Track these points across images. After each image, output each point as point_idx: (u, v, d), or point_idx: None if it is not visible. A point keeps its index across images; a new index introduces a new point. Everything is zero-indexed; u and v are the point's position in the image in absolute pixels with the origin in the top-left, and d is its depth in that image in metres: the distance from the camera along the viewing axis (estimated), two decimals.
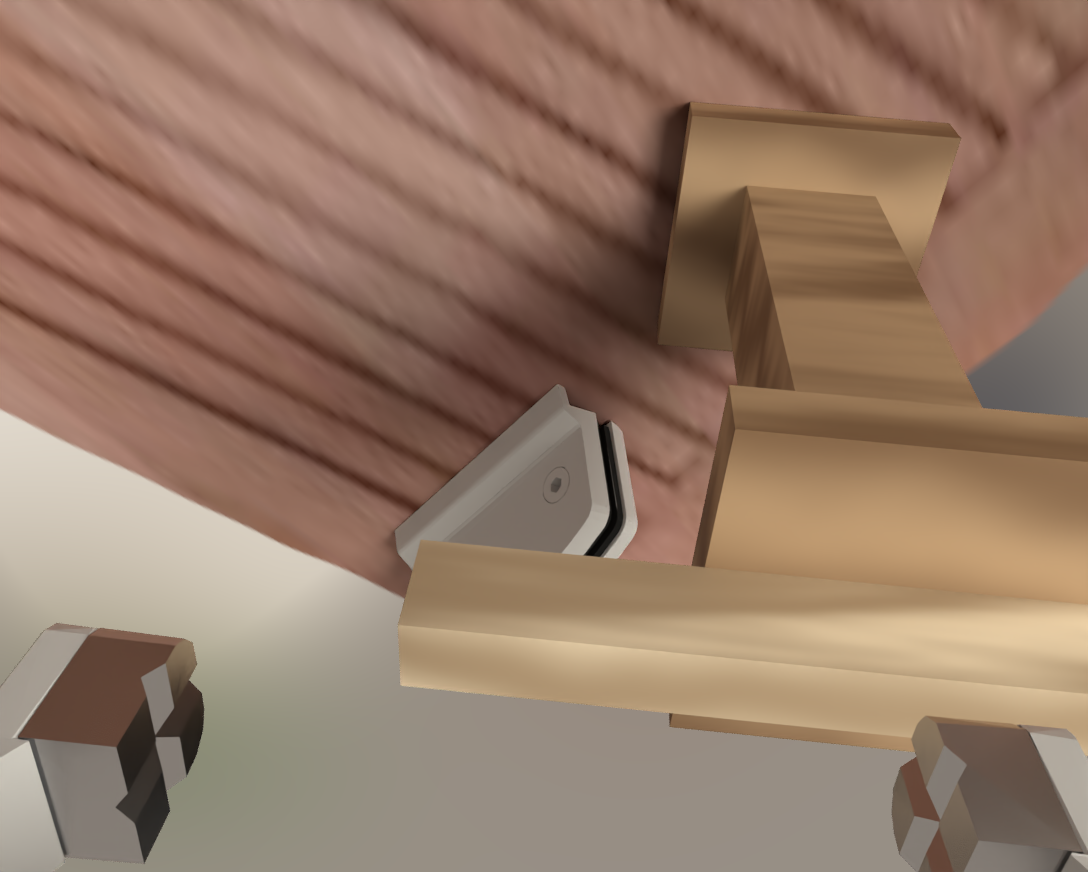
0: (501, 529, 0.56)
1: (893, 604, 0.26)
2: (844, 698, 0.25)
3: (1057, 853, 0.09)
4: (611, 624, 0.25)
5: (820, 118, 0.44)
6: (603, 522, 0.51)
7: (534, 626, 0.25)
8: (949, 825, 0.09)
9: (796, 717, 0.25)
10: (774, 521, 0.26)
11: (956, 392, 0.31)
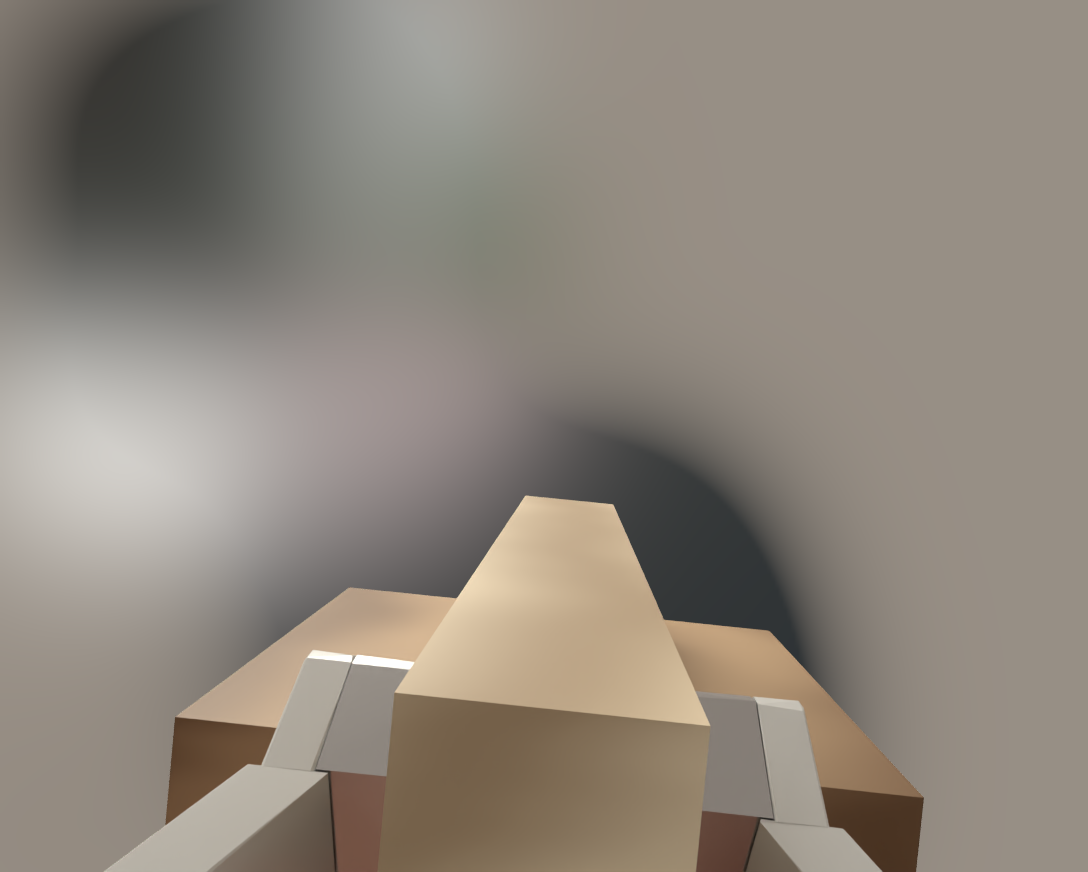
0: None
1: None
2: (561, 531, 0.19)
3: (749, 820, 0.09)
4: None
5: None
6: None
7: None
8: None
9: (610, 542, 0.18)
10: None
11: None
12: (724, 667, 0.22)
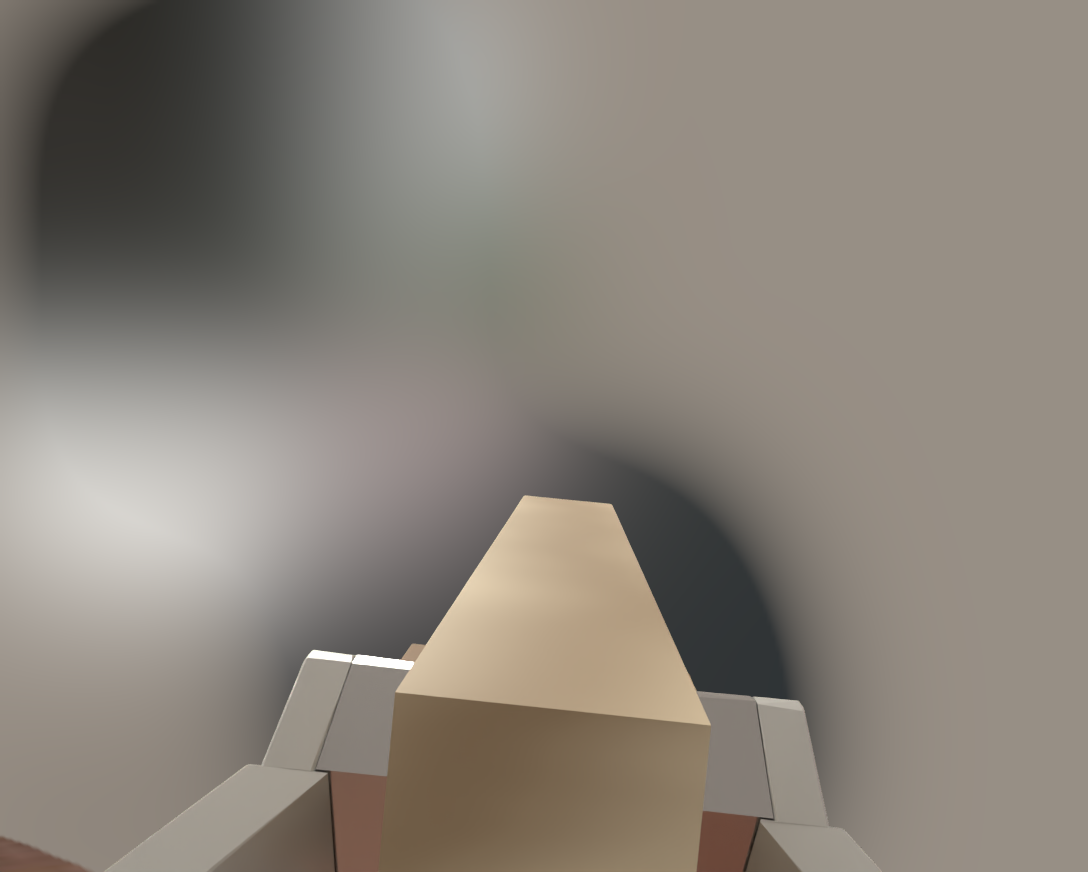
0: None
1: None
2: (560, 530, 0.19)
3: (749, 820, 0.09)
4: None
5: None
6: None
7: None
8: None
9: (610, 542, 0.18)
10: None
11: None
12: None
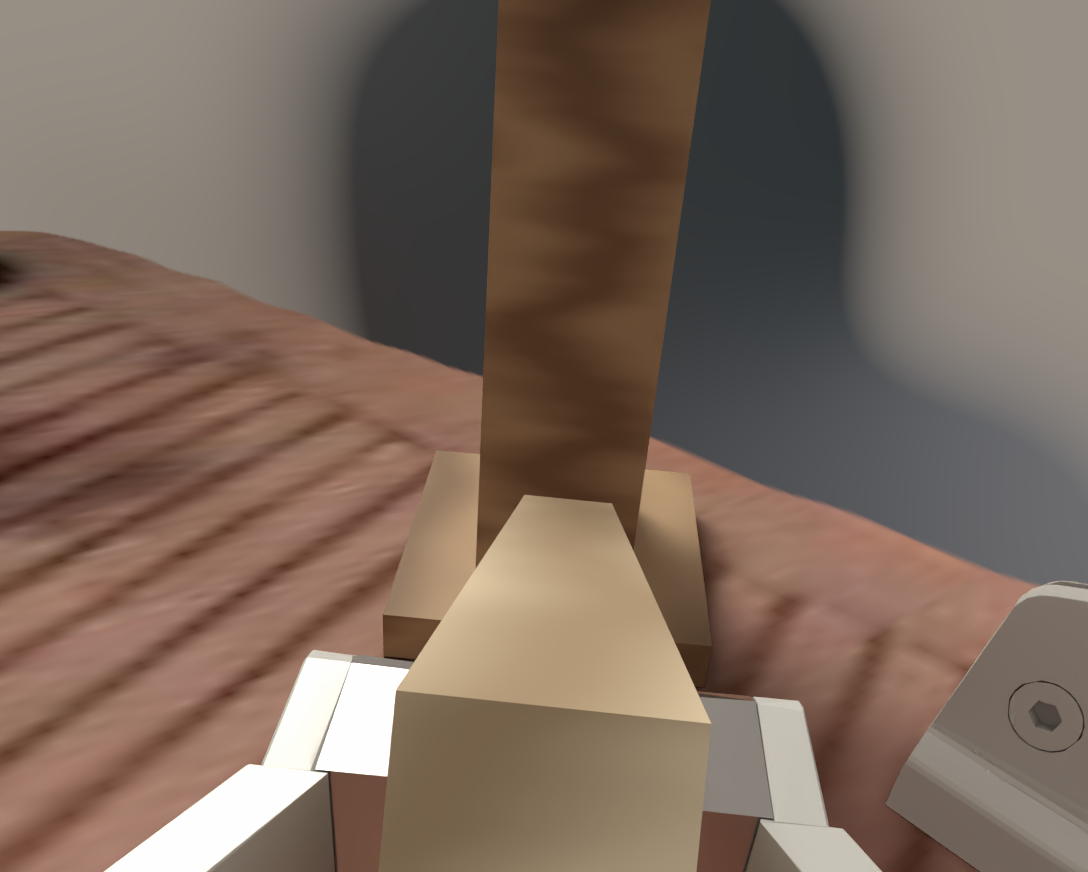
0: None
1: None
2: (560, 529, 0.19)
3: (749, 820, 0.09)
4: None
5: None
6: (1045, 586, 0.30)
7: None
8: None
9: (610, 541, 0.18)
10: None
11: None
12: None
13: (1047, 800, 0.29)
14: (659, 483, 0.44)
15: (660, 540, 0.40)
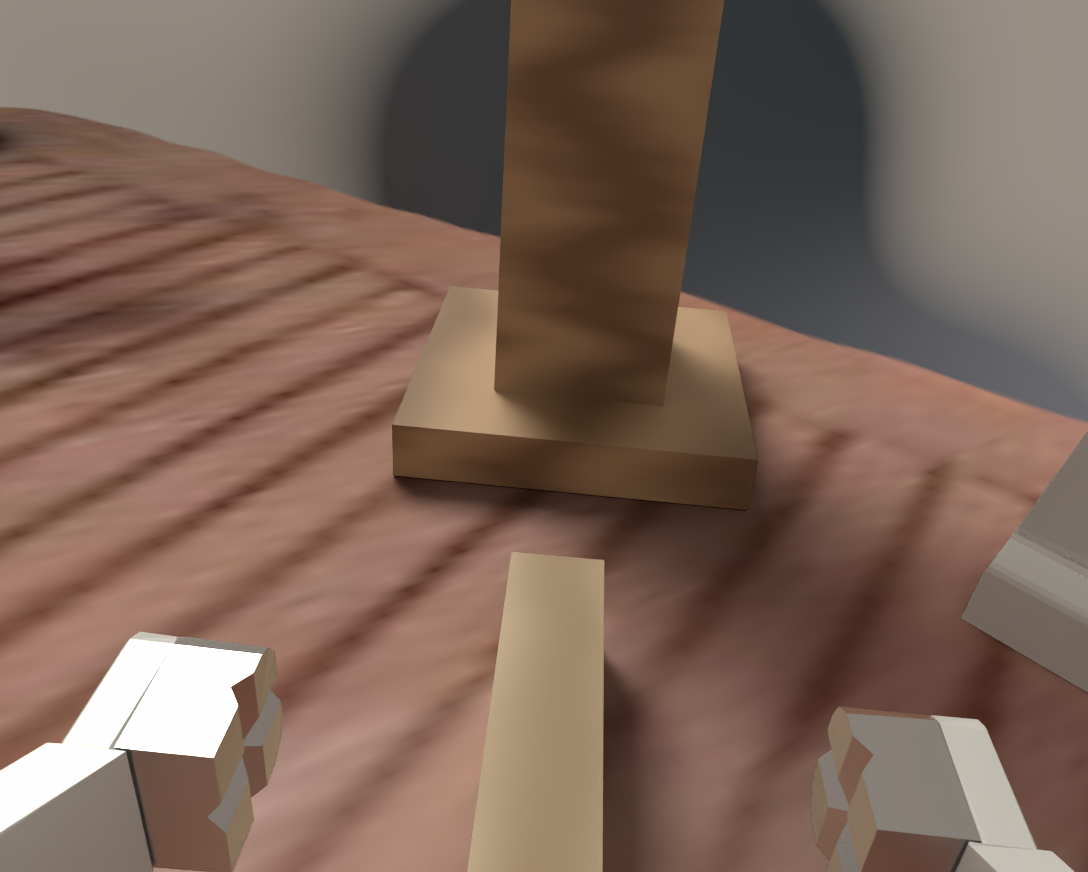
0: None
1: None
2: (535, 794, 0.18)
3: (956, 842, 0.09)
4: None
5: None
6: None
7: None
8: (855, 815, 0.09)
9: (582, 845, 0.18)
10: None
11: None
12: None
13: None
14: (694, 318, 0.40)
15: (696, 367, 0.37)
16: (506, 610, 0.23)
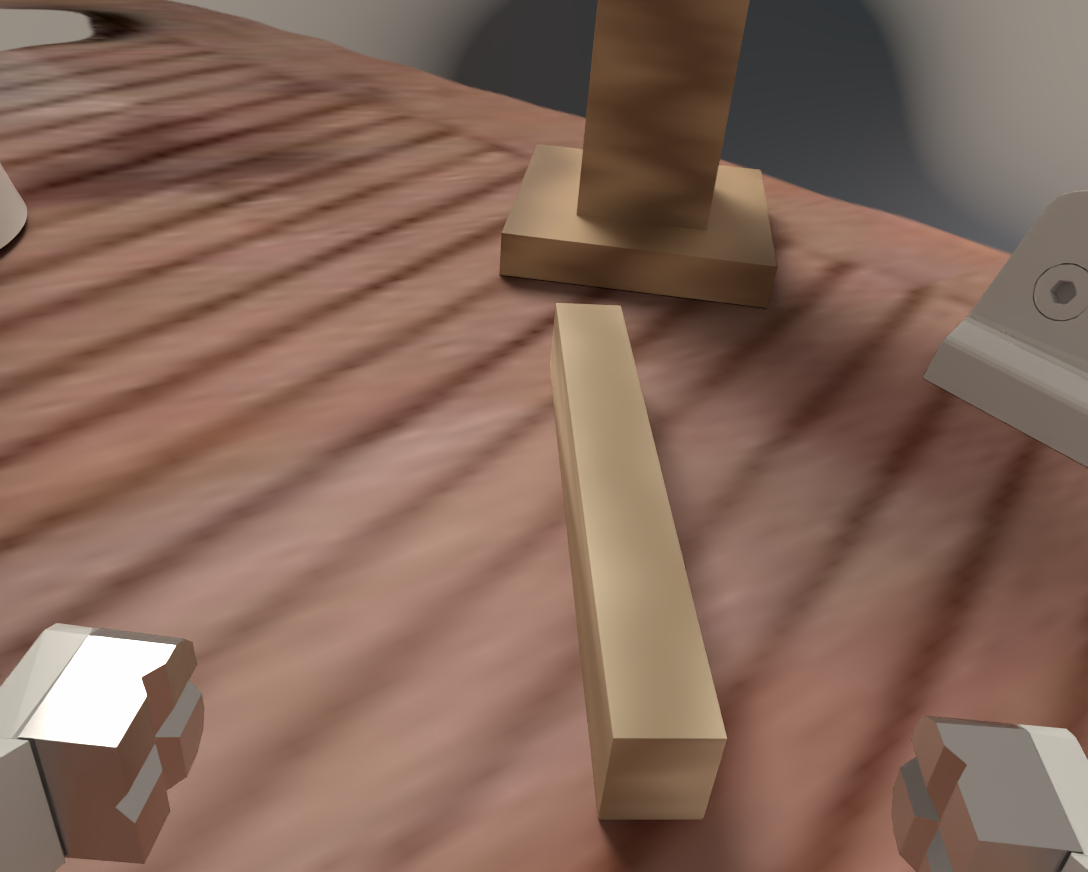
0: None
1: (561, 453, 0.32)
2: (606, 418, 0.29)
3: (1057, 853, 0.09)
4: (586, 577, 0.25)
5: None
6: None
7: (595, 626, 0.23)
8: (948, 825, 0.09)
9: (641, 439, 0.29)
10: None
11: None
12: None
13: (1057, 359, 0.36)
14: (734, 174, 0.50)
15: (734, 206, 0.46)
16: (562, 333, 0.33)
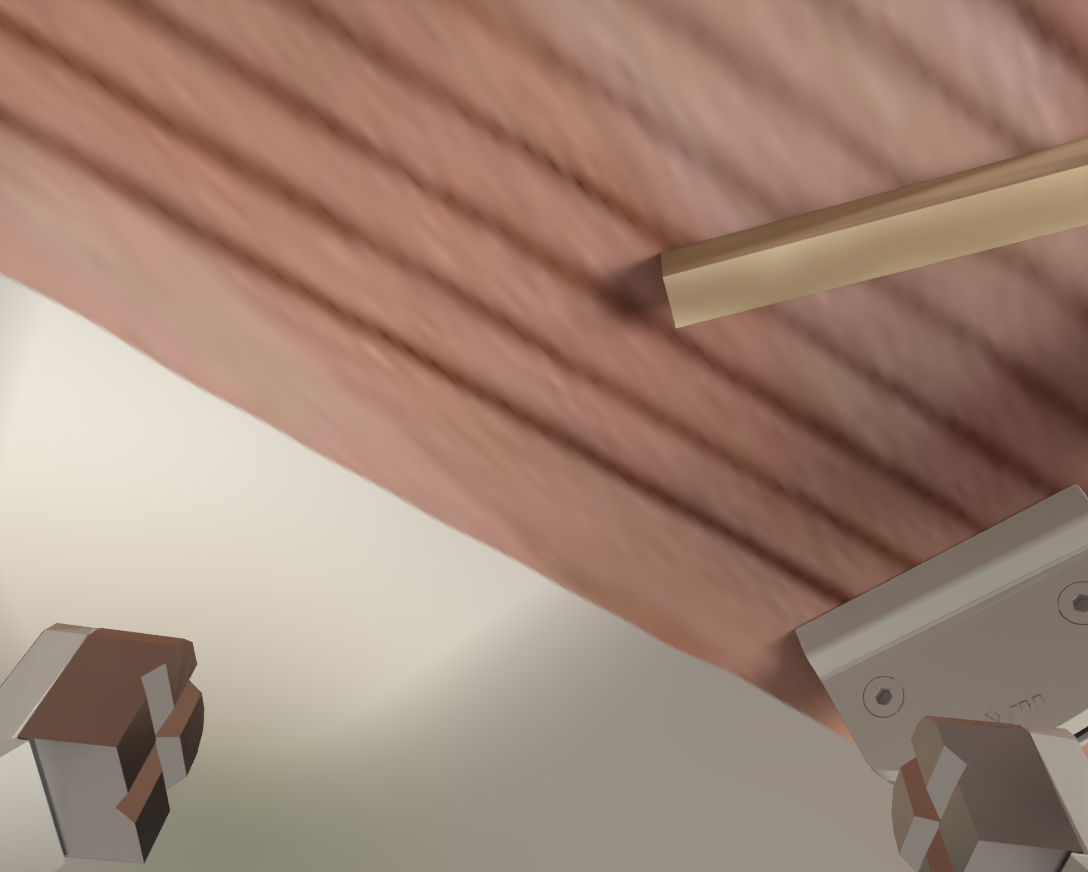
0: (987, 647, 0.47)
1: (973, 172, 0.39)
2: (955, 226, 0.38)
3: (1057, 853, 0.09)
4: (792, 236, 0.39)
5: None
6: None
7: (744, 252, 0.39)
8: (948, 826, 0.09)
9: (931, 255, 0.39)
10: None
11: None
12: None
13: (1035, 574, 0.47)
14: None
15: None
16: None
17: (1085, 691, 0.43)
